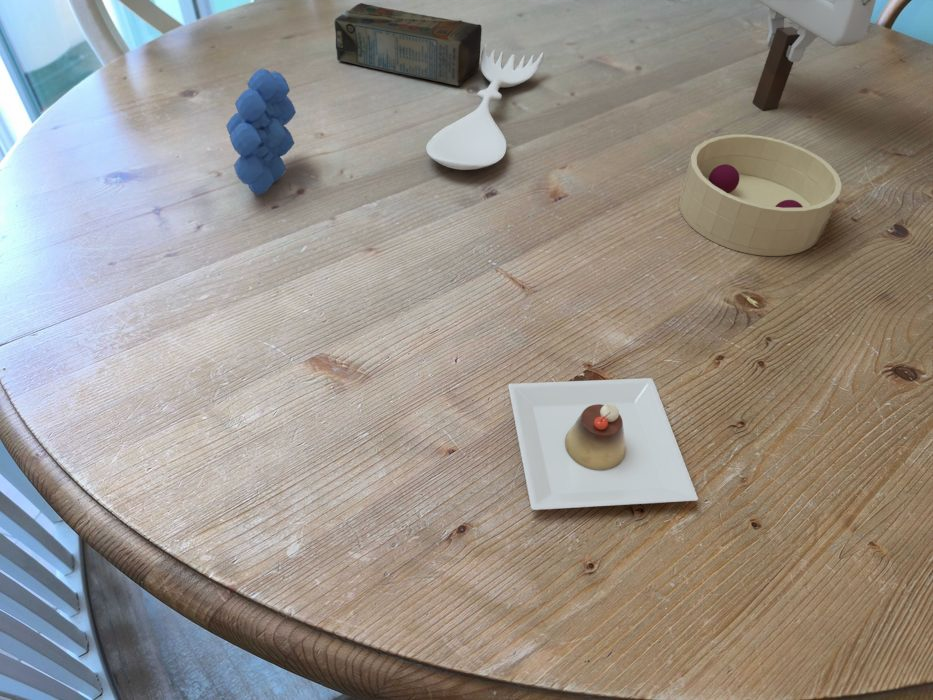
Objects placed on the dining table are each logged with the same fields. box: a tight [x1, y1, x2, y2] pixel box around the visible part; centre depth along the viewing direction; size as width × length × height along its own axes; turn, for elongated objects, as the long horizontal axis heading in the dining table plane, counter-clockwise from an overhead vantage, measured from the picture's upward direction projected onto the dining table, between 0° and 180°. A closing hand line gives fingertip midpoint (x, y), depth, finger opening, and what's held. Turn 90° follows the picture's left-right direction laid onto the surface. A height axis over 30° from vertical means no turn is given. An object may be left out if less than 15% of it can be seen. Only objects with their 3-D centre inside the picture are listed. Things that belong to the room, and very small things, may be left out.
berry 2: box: [775, 200, 803, 208], centre depth 78 cm, size 3×3×3 cm
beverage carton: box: [333, 2, 483, 87], centre depth 103 cm, size 8×19×7 cm, turn 68°
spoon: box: [425, 43, 545, 171], centre depth 94 cm, size 9×32×3 cm, turn 166°
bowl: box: [678, 133, 843, 257], centre depth 80 cm, size 15×15×6 cm
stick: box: [752, 26, 800, 111], centre depth 98 cm, size 2×2×10 cm
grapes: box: [225, 67, 297, 195], centre depth 78 cm, size 12×7×12 cm, turn 166°
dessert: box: [507, 377, 699, 511], centre depth 56 cm, size 12×12×5 cm
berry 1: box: [709, 164, 739, 193], centre depth 82 cm, size 3×3×3 cm
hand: (782, 53), depth 96 cm, fingers closed on stick, 2 cm apart
